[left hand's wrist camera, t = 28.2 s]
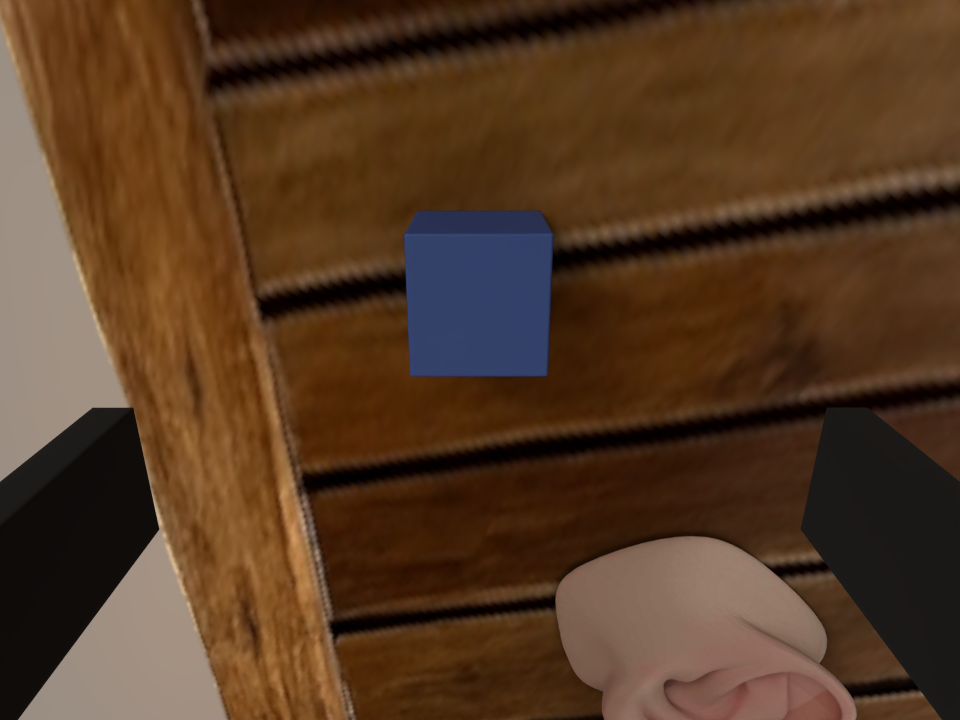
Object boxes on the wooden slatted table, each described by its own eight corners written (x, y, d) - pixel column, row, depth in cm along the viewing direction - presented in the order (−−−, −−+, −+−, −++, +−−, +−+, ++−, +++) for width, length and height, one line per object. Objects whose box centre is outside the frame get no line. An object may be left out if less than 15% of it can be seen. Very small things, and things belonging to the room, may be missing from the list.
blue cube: (420, 333, 27) (409, 377, 23) (416, 210, 26) (403, 233, 21) (537, 332, 27) (548, 377, 23) (541, 210, 26) (553, 233, 21)
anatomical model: (516, 669, 29) (750, 535, 26) (512, 604, 32) (717, 481, 30) (676, 831, 33) (893, 728, 30) (656, 756, 36) (848, 659, 34)
